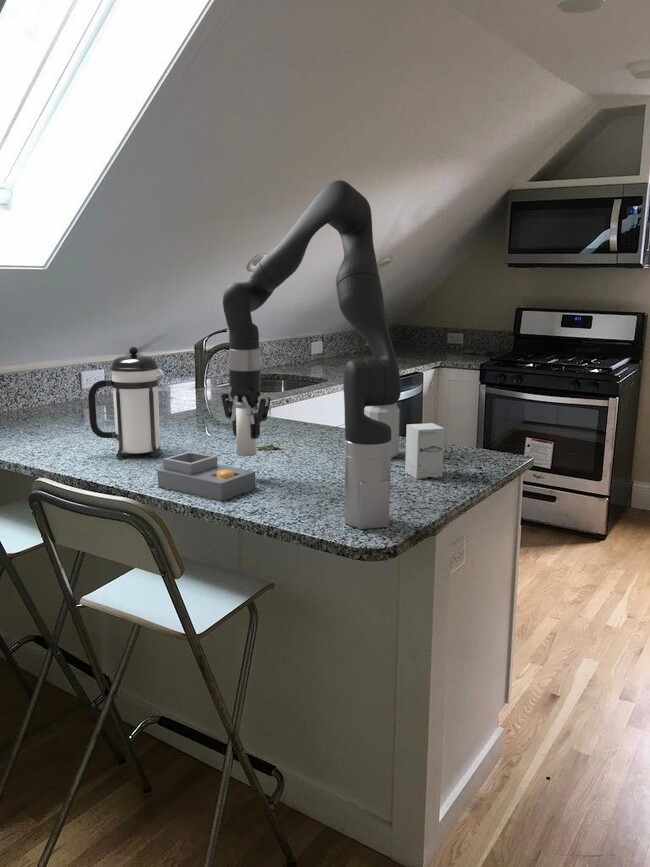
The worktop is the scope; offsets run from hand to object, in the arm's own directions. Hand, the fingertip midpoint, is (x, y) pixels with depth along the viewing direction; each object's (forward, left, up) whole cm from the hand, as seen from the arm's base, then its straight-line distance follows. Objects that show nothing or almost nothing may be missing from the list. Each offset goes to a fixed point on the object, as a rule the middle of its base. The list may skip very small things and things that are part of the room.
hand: (246, 436), depth 180 cm
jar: (+13, -39, -11) cm, 43 cm away
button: (-10, +7, -10) cm, 15 cm away
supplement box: (-8, -43, -11) cm, 45 cm away
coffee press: (+32, +27, -11) cm, 43 cm away
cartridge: (0, 0, -4) cm, 4 cm away
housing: (-5, +11, -11) cm, 16 cm away
